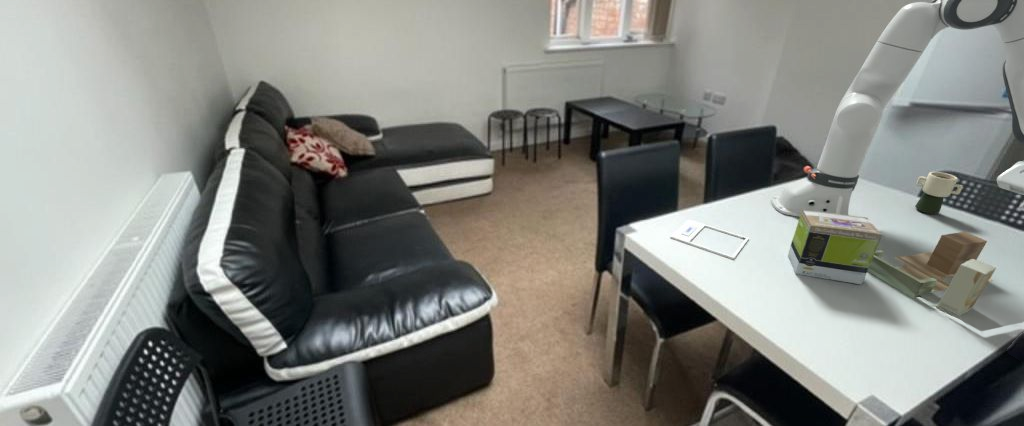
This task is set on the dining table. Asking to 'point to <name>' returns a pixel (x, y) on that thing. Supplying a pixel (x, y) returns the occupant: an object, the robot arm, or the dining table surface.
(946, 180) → the cream and green cup
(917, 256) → the wooden slotted tray
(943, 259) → the walnut block
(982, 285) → the skincare box
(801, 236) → the tea box
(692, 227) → the photo frame
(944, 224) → the dining table surface
